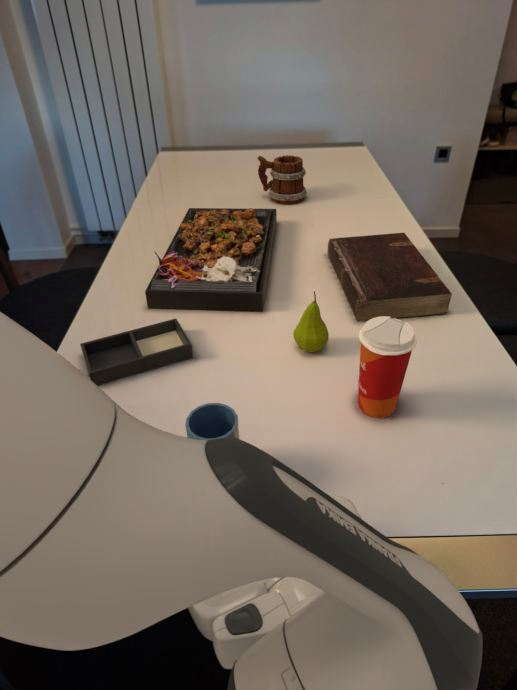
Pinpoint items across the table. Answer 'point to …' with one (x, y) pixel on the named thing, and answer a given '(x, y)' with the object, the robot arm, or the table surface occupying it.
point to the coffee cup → (383, 364)
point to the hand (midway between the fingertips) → (248, 500)
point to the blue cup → (212, 422)
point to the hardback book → (387, 277)
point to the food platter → (216, 261)
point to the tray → (136, 351)
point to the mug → (284, 179)
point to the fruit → (311, 329)
